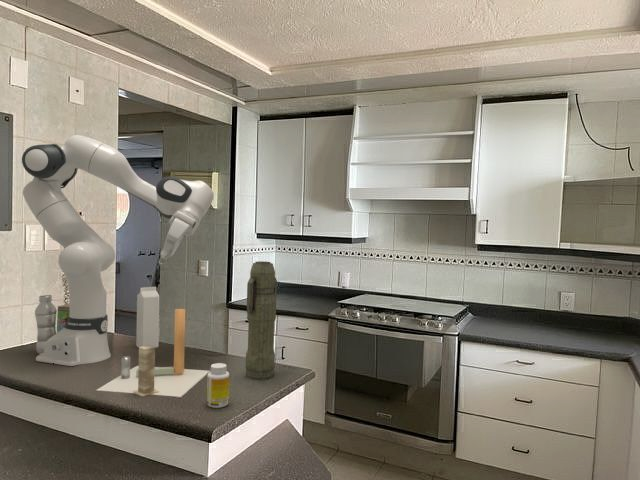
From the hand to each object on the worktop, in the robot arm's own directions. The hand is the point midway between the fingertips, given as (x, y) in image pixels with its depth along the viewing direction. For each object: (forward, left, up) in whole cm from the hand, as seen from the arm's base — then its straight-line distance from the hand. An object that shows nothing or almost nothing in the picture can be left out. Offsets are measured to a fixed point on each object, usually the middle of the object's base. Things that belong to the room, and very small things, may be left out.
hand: (161, 259), depth 152 cm
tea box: (-41, +21, -34) cm, 57 cm away
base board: (+5, -13, -34) cm, 37 cm away
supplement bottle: (+28, -27, -34) cm, 52 cm away
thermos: (+33, -2, -34) cm, 48 cm away
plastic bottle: (-43, +5, -35) cm, 55 cm away
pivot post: (-4, -13, -34) cm, 37 cm away
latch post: (+7, -23, -34) cm, 42 cm away
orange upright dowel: (+5, -9, -33) cm, 35 cm away
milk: (-15, +21, -34) cm, 43 cm away
